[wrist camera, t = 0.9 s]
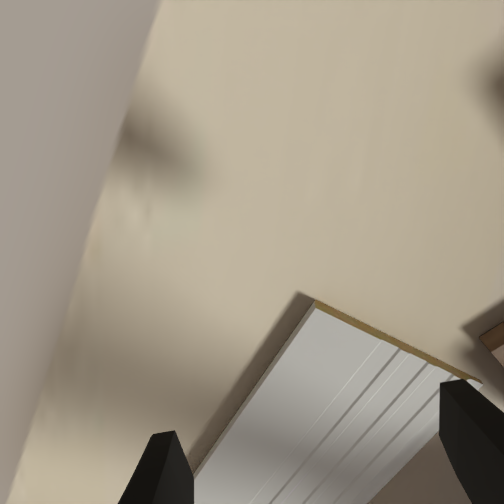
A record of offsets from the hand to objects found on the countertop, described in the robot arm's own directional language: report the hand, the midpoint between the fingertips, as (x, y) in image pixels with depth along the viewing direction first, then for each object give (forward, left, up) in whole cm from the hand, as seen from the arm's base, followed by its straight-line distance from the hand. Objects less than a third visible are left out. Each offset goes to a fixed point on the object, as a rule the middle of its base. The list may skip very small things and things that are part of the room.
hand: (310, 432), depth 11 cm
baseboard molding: (-13, +13, -10) cm, 20 cm away
